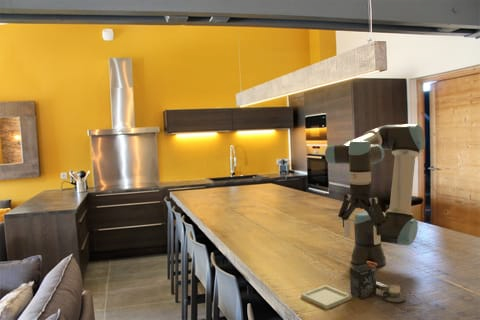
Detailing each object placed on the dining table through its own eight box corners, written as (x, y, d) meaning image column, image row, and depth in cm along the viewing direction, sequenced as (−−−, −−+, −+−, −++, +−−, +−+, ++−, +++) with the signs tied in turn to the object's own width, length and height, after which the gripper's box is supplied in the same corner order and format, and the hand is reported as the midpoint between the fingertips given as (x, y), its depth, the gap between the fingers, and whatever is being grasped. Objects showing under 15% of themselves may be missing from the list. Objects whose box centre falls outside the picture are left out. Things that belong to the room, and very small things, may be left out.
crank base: (377, 298, 147) (377, 295, 147) (391, 292, 152) (390, 289, 151) (396, 305, 140) (396, 302, 140) (410, 299, 145) (410, 295, 145)
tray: (301, 297, 151) (301, 293, 151) (325, 288, 158) (325, 284, 158) (326, 309, 140) (326, 305, 140) (351, 299, 148) (351, 295, 147)
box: (360, 300, 146) (359, 271, 145) (350, 294, 152) (349, 267, 151) (377, 295, 149) (376, 267, 149) (366, 290, 155) (365, 263, 154)
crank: (402, 294, 145) (402, 268, 145) (395, 298, 143) (395, 271, 142) (371, 284, 156) (370, 259, 155) (364, 287, 153) (363, 262, 153)
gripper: (327, 181, 155) (329, 235, 157) (382, 187, 135) (384, 249, 136) (341, 179, 159) (342, 231, 161) (396, 184, 139) (397, 244, 140)
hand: (361, 240), depth 149 cm, fingers open, 13 cm apart
